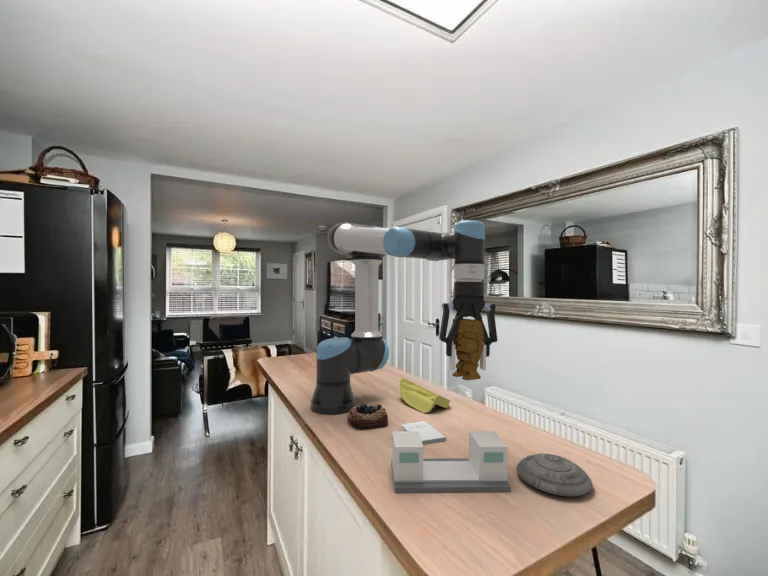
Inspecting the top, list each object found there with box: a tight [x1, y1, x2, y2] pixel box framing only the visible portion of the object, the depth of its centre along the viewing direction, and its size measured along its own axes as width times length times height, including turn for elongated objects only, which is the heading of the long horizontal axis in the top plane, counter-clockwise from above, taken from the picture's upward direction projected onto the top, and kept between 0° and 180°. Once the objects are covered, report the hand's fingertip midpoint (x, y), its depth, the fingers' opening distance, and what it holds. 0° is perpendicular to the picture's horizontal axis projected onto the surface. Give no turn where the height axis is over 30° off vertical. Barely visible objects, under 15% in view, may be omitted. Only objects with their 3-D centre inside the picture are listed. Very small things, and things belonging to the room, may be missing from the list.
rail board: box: [391, 430, 512, 494], centre depth 78 cm, size 12×24×8 cm, turn 92°
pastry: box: [347, 402, 389, 431], centre depth 108 cm, size 11×12×6 cm
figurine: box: [451, 318, 484, 381], centre depth 91 cm, size 7×6×15 cm
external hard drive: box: [400, 420, 447, 445], centre depth 101 cm, size 2×8×12 cm
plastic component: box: [399, 378, 451, 414], centre depth 127 cm, size 20×7×10 cm
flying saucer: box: [516, 452, 594, 497], centre depth 77 cm, size 15×15×6 cm
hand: (467, 368), depth 91 cm, fingers closed on figurine, 7 cm apart
